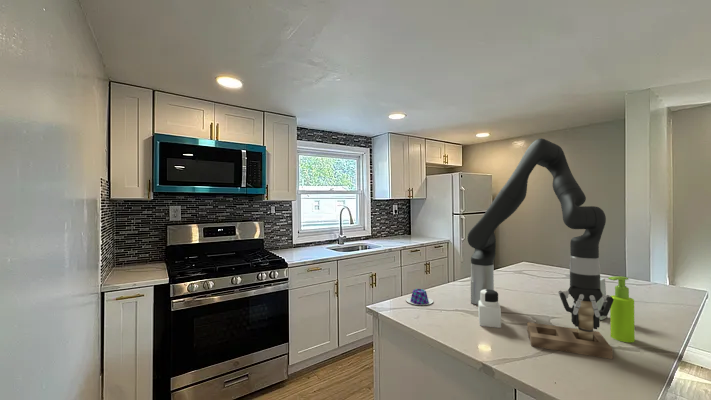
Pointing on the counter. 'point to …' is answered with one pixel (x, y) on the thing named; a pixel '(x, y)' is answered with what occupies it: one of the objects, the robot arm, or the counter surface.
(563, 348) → the board
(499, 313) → the medicine bottle
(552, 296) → the counter surface
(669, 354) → the counter surface
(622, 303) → the soap dispenser
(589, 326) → the peg
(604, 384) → the counter surface
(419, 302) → the pudding
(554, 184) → the robot arm
